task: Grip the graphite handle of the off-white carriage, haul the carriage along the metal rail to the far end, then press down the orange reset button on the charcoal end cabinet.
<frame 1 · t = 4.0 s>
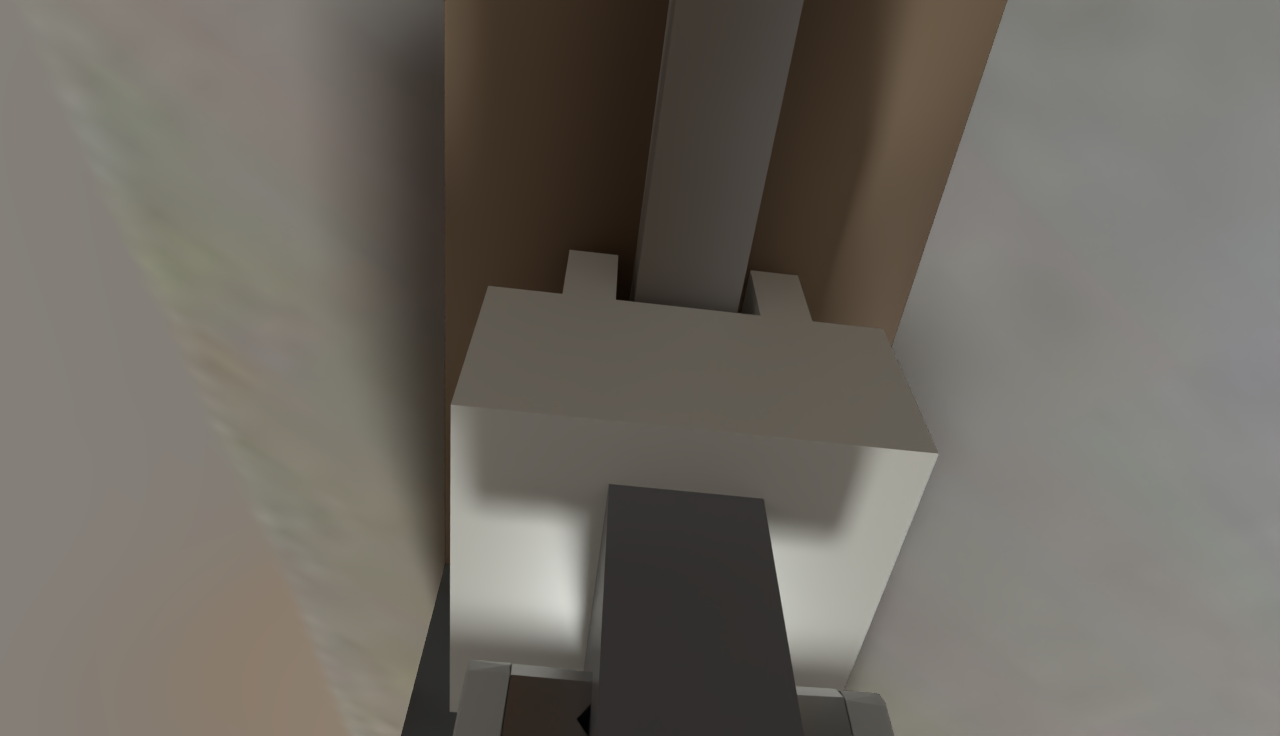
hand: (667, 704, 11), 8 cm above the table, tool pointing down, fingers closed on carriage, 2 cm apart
carriage: (666, 635, 12), point 7 cm above the table, slide at 0.0 cm, touching gripper
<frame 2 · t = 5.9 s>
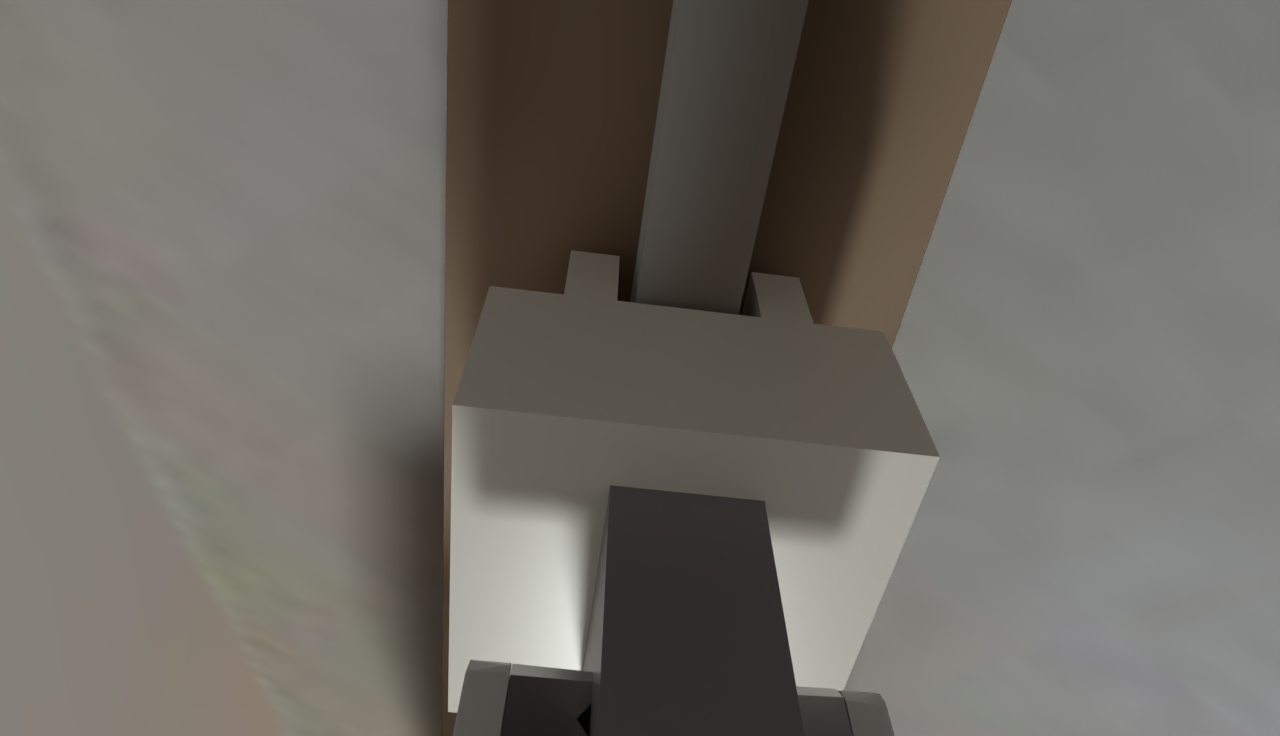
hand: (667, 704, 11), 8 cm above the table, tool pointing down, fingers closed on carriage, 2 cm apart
carriage: (665, 637, 12), point 7 cm above the table, slide at 8.8 cm, touching gripper
rail frame: (646, 422, 18), on the table
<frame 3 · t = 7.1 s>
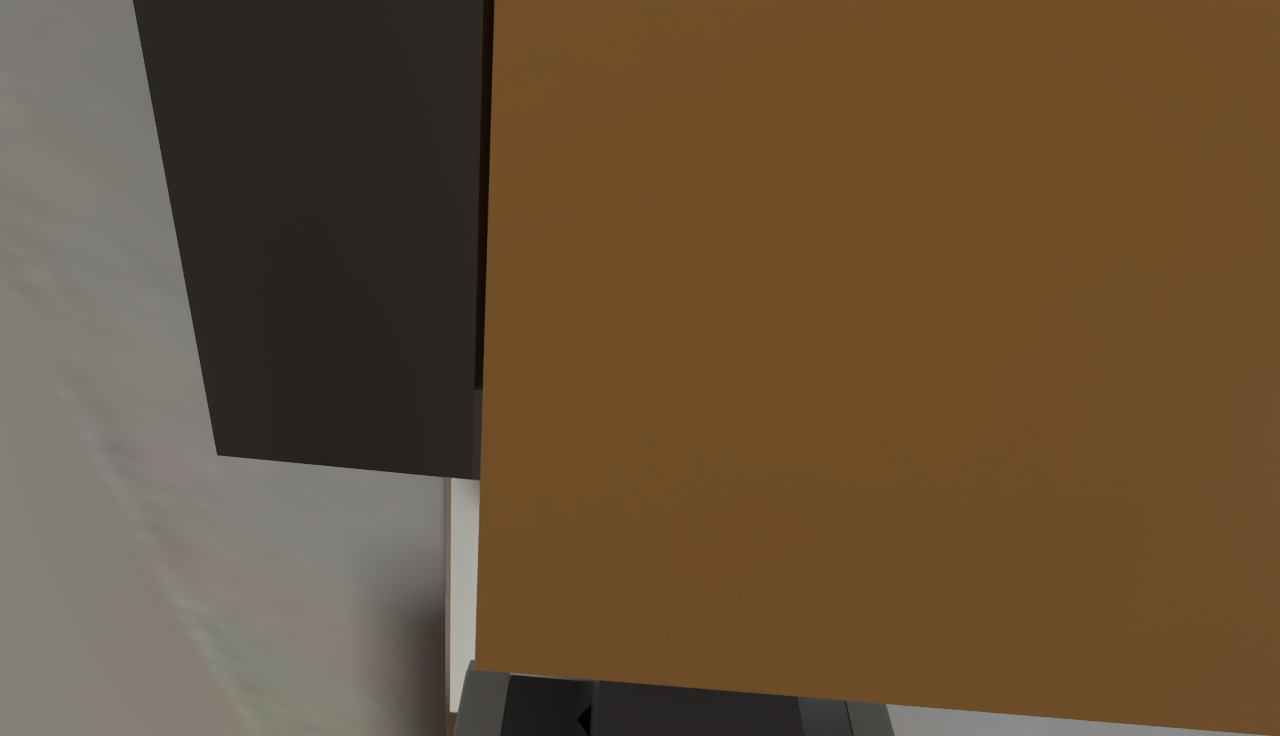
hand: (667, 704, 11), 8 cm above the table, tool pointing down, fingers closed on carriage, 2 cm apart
carriage: (666, 636, 12), point 7 cm above the table, slide at 13.9 cm, touching gripper
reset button: (883, 106, 5), point 10 cm above the table, slide at 0.0 cm
rail frame: (620, 589, 21), on the table
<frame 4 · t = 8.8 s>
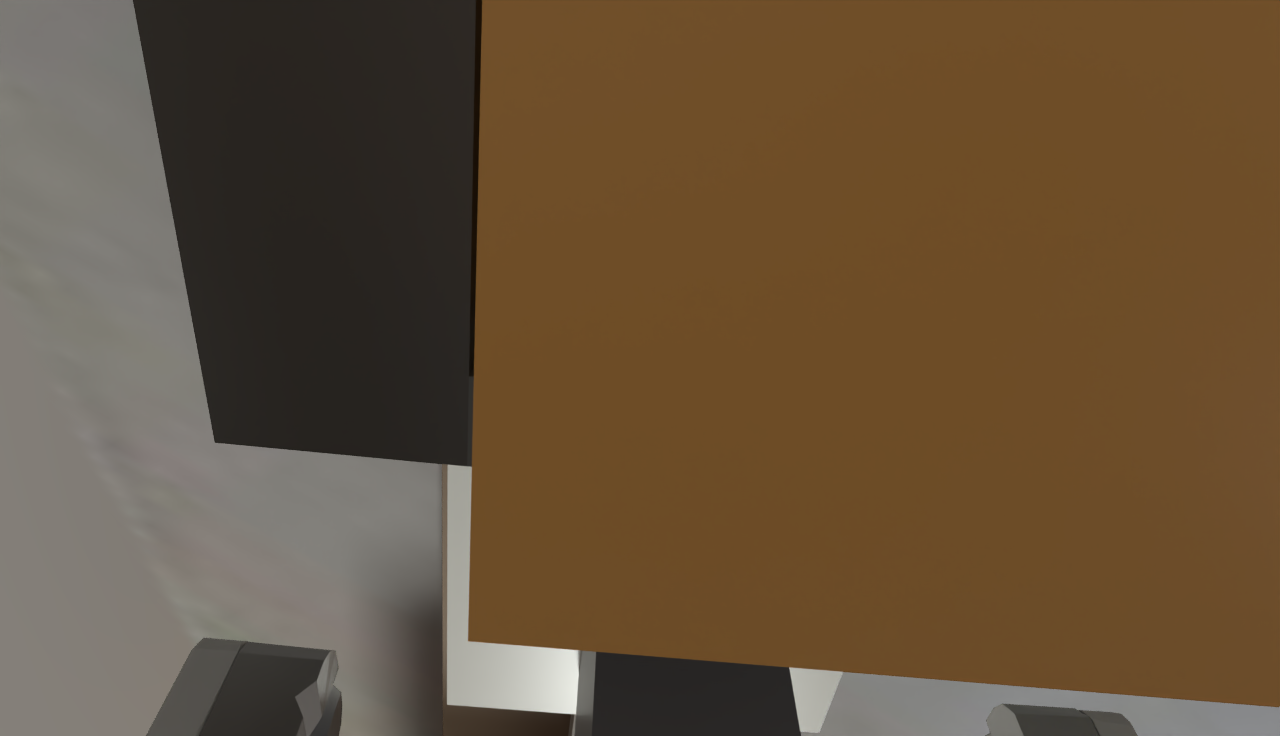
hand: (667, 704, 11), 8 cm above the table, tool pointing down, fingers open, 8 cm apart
carriage: (662, 626, 12), point 7 cm above the table, slide at 14.0 cm
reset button: (870, 93, 5), point 10 cm above the table, slide at 0.0 cm
rail frame: (617, 586, 21), on the table
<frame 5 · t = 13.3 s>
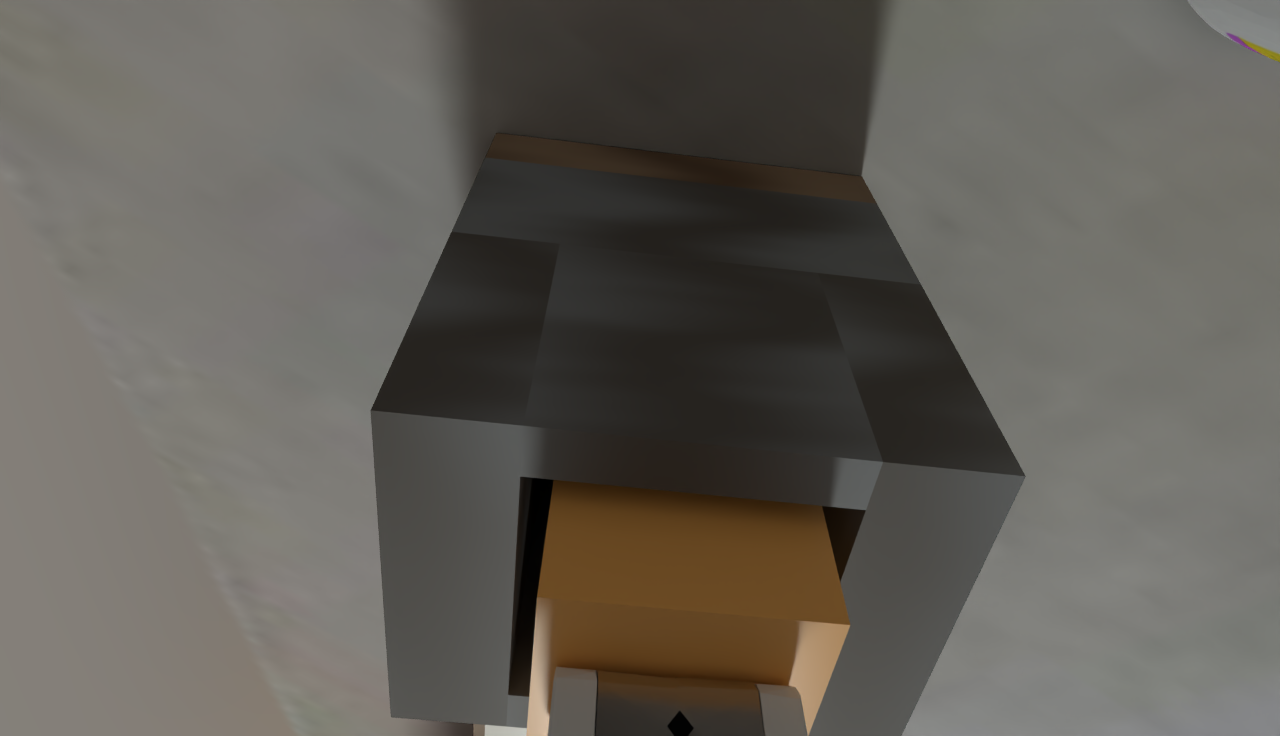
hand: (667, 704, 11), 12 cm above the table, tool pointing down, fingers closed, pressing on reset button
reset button: (669, 560, 13), point 9 cm above the table, slide at 1.0 cm, touching gripper
rail frame: (602, 677, 29), on the table
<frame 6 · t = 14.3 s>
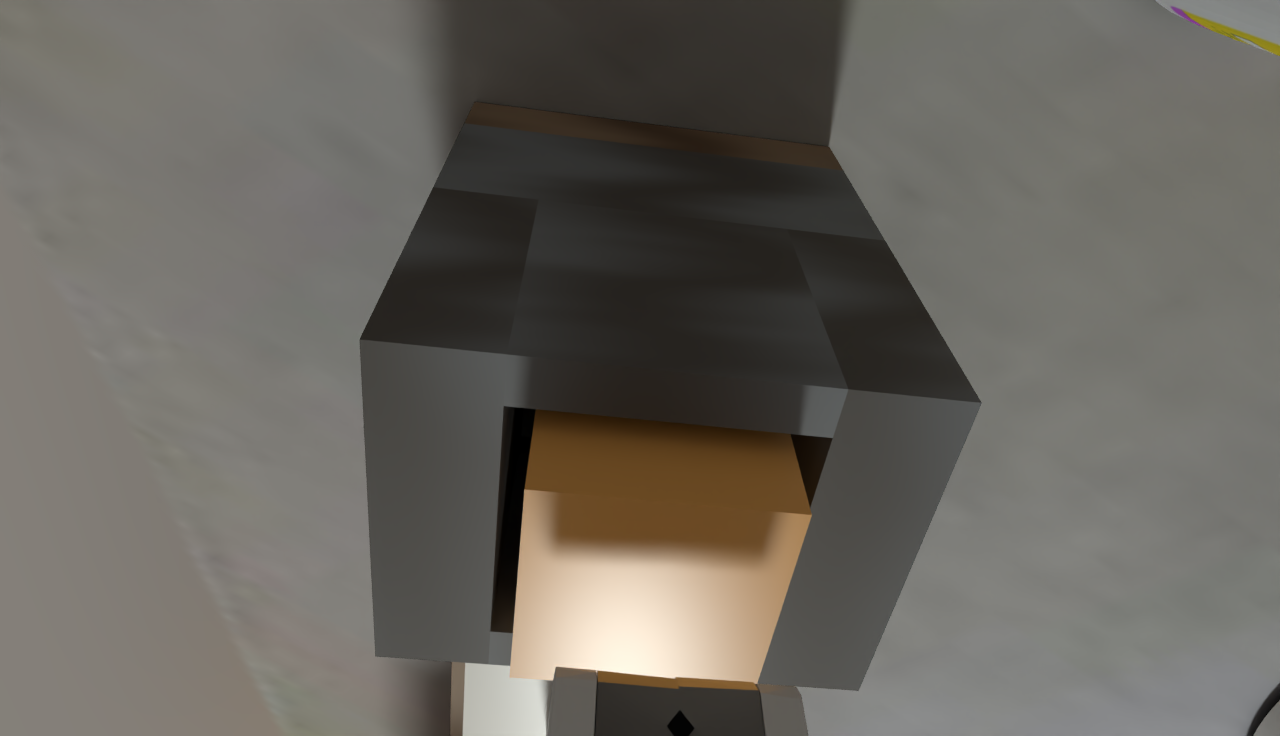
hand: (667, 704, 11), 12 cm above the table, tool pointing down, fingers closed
carriage: (595, 706, 19), point 7 cm above the table, slide at 14.0 cm
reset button: (645, 480, 14), point 9 cm above the table, slide at 1.4 cm
rail frame: (579, 651, 29), on the table
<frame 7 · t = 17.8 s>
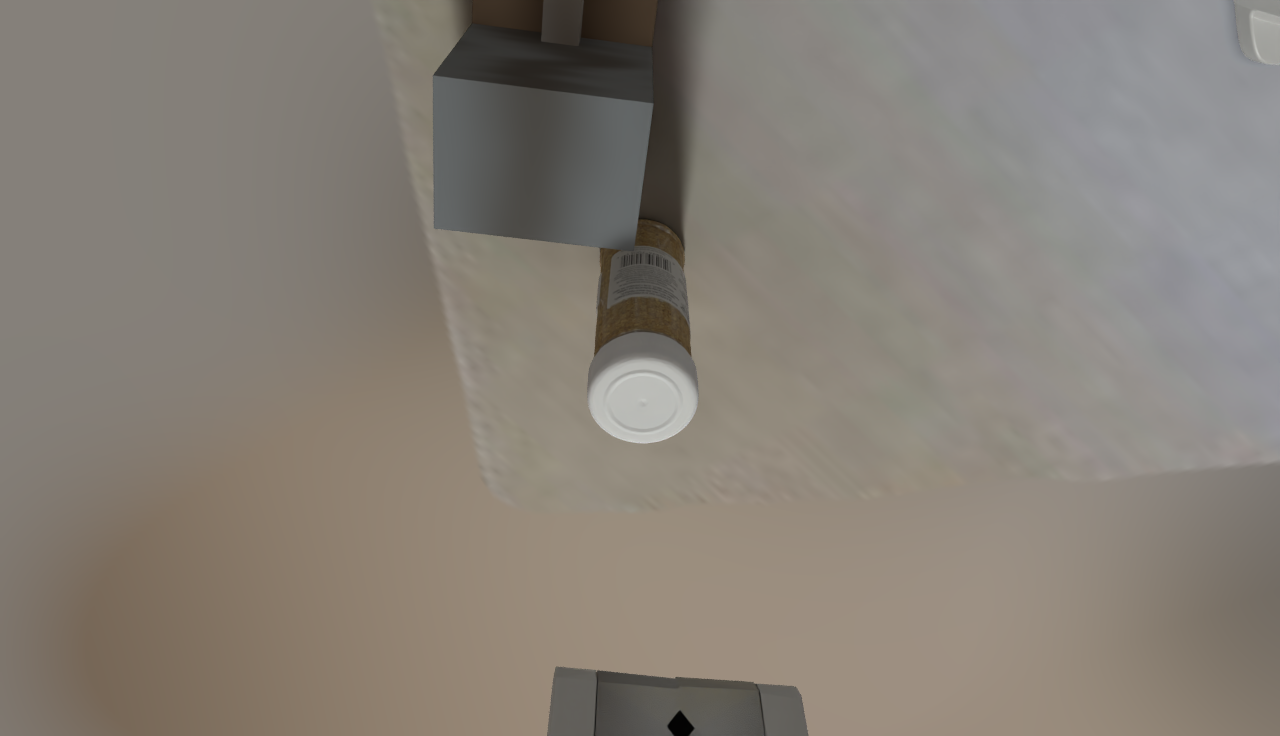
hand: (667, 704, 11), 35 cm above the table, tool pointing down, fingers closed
sprinkles bottle: (643, 253, 46), on the table
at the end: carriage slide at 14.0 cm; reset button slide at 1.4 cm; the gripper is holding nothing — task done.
